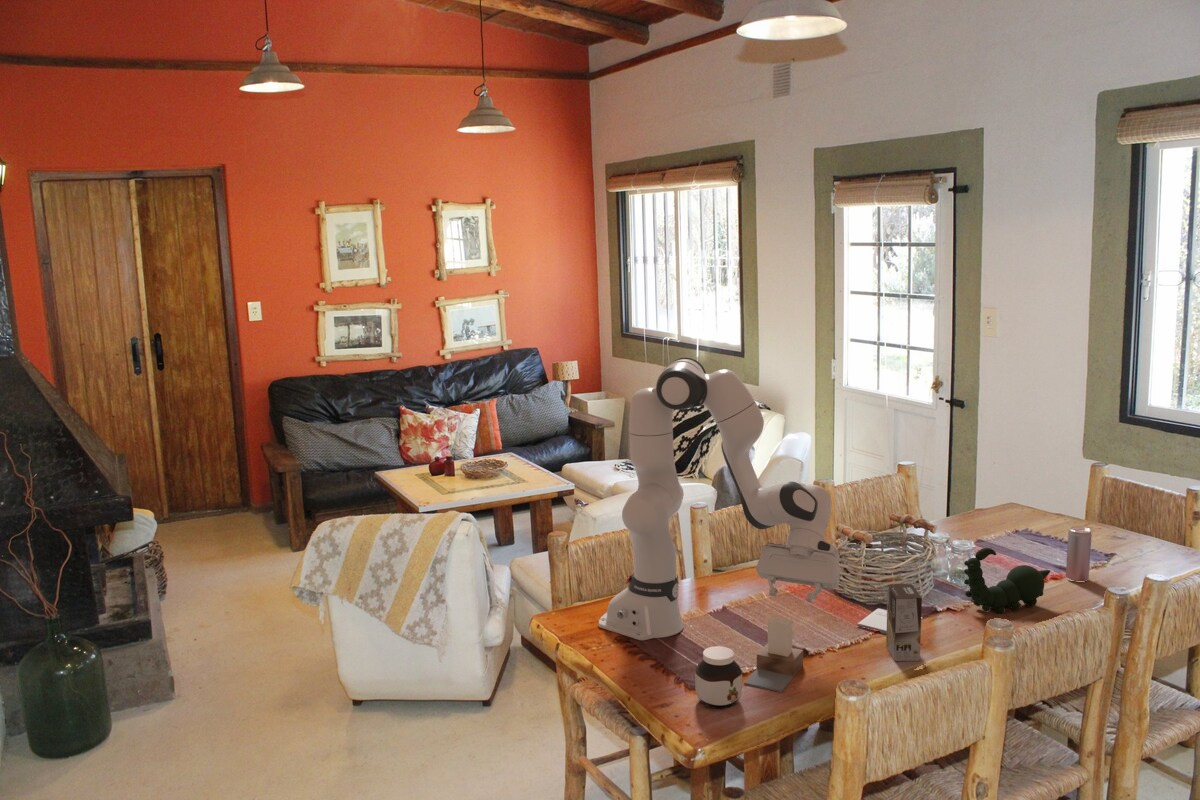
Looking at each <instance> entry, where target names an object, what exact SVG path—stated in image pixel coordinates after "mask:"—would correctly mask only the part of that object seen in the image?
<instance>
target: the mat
mask: <svg viewBox="0 0 1200 800" xmlns="http://www.w3.org/2000/svg"><path fill="white" fill-rule="evenodd" d="M793 679H794V677H793V676H790V675H785V674H780V673H776V672H771V671H766V670H761V669H757V668H756V669H755V670H754V671H753V672H752V673H751V675H749V677H748V678H747V679H746V680H745V681H744V683H743V684H744V685H746V686H749V687H750V686H751V687H753V688H754V687H755V688H760V689H764V690H768V691H774V692H778V693H783V691H784V690H785V689H786V688H787V686H788V685H789V684H790V683H791V681H792V680H793Z"/></svg>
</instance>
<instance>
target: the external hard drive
mask: <svg viewBox="0 0 1200 800" xmlns="http://www.w3.org/2000/svg"><path fill="white" fill-rule="evenodd" d="M857 626H859V627H865V628H869V629H875V630H878V631H880V632H881V633H880V634H884V635H887V609H883V608H877V609H875V610H873V611H872V612H871V613H870V614H868V615H867V616H866V617H864V618H863V619H862V620H860V621H859V622H858V623H857V624H856V627H857ZM859 627H858V628H859Z"/></svg>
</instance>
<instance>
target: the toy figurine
mask: <svg viewBox="0 0 1200 800" xmlns="http://www.w3.org/2000/svg"><path fill="white" fill-rule="evenodd" d="M990 555H993V556H996V555H997V552H996V551H995V550H994V549H992V548H990V547H982V548H981V549H978V550H977V551H976V553H975V557H970V558H969V559H968V560H965V561H964V564H963V565H965V566H966V567H967V568H964V570H963V574H965V575H967V576H968V578H966V579H964V582H963V583H964V585H966V586H969V589H968V590H966V591H965V592H964V594H965V597H967V598H971V600H972V603H973V604H974V606H976V607H979V606H981V609H982V610H983V611H984V612H989V611H990V610H991V609H992V610H996V612H997V613H999V614H1004V613H1005V611H1006V608H1005V607H1006V606H1009V607H1010V608H1011V609H1012V610H1014V611H1016V610H1019V609H1020V608H1021V602H1020V601H1022V603H1023V604H1024V605H1026V606H1028V605H1029V606H1030V607H1031V606H1032V607H1033V606H1035V605H1036V604H1037V599H1038V598H1039V597H1042V596H1043V595H1044V590H1045V589H1044V588H1045V579H1046V578H1047V576H1049V574H1050V573H1051V570H1049V569H1046V570H1045V569H1043V570H1038V569H1037V568H1035V567H1034V566H1031V565H1027V564H1026V565H1025V564H1021V565H1018V566H1015V567H1014V568H1012V569H1011V570H1010V571H1009V572H1008V573H1007V576H1006V577H1005V579H1002V580H1001V581H999V582H998V583H996V585H992V586H990V587H988V586H987V585H986V580H985V578H984V577H983V576H984V575H983V574H984V571H983V569H982V567H981V566H982V564H981V561H983V560H985V559H986V558H987V557H988V556H990ZM1029 606H1028V607H1029Z"/></svg>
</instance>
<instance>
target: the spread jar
mask: <svg viewBox="0 0 1200 800" xmlns="http://www.w3.org/2000/svg"><path fill="white" fill-rule="evenodd" d="M742 670H743V669H742V668H741V666H740V665H739V663H738V662H737V661H736V660H735V653H734V651H733V650H732V649H731V648H729V647H726V646H718V645H717V646H709V647H707V648H706V649H704V650H703V652H702V659H701V661H700V662H699V663H698V665H697V666H696V668H695V673H694V674H695V675H694V687H695V693H696V696H697V697H698V699H699V700H700V701H701V703H703V704H704V705H706V706H707V707H709V708H712V709H715V710H717V709H718V710H719V709H720V710H723V709H728V708H731V707H732V706H734V705H735V704H736V703H738V701H739V700H740V698H741V697H742V694H743V672H742Z"/></svg>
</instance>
